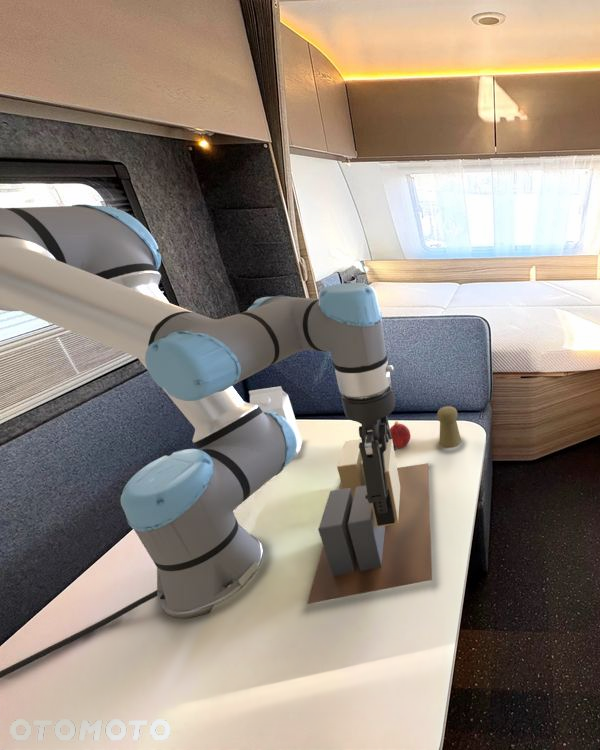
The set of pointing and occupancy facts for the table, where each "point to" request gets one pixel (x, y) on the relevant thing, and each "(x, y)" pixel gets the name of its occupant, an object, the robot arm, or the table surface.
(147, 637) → the table surface
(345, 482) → the cream book
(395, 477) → the cream book
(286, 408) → the milk carton
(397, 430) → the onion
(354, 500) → the grey rectangular block
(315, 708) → the table surface
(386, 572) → the shelf board
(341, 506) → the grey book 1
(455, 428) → the olive pawn
